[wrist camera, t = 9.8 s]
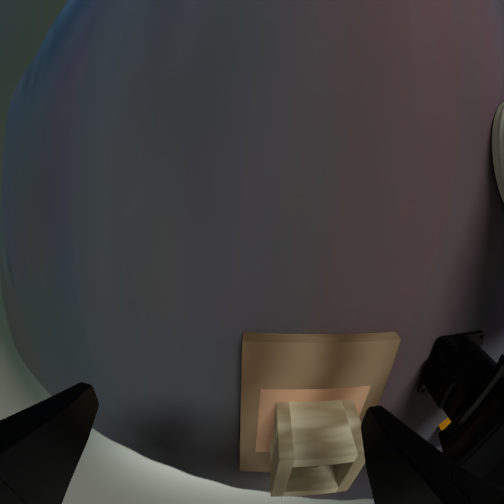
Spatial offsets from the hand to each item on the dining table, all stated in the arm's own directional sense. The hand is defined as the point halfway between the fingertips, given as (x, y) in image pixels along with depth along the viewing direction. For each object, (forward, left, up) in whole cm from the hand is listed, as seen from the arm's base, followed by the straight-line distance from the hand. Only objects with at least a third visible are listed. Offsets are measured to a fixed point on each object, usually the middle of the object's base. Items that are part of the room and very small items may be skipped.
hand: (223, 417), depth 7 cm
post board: (-6, +13, -12) cm, 19 cm away
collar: (-6, +13, -11) cm, 18 cm away
